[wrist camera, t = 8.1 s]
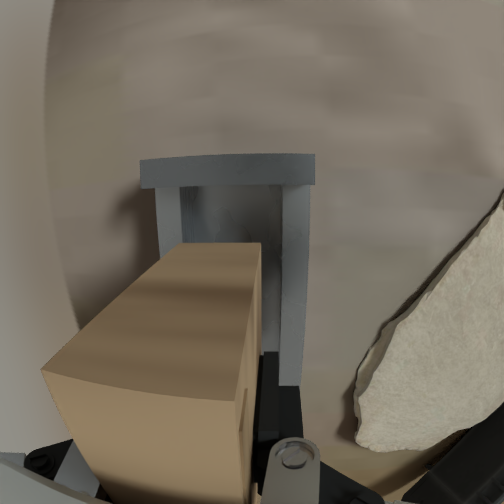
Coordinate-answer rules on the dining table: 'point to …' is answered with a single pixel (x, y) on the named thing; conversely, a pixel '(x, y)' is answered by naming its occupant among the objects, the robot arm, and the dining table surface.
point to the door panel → (170, 380)
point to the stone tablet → (439, 353)
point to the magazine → (467, 469)
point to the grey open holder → (246, 229)
